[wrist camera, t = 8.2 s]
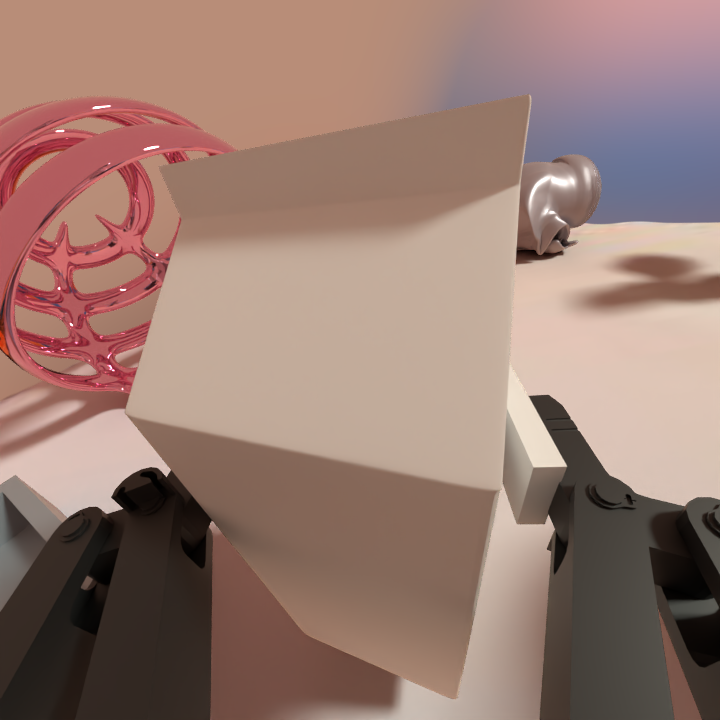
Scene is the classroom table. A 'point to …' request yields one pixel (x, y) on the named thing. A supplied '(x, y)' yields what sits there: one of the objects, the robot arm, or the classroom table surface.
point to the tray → (23, 532)
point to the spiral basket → (44, 202)
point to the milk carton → (347, 371)
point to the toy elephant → (555, 202)
